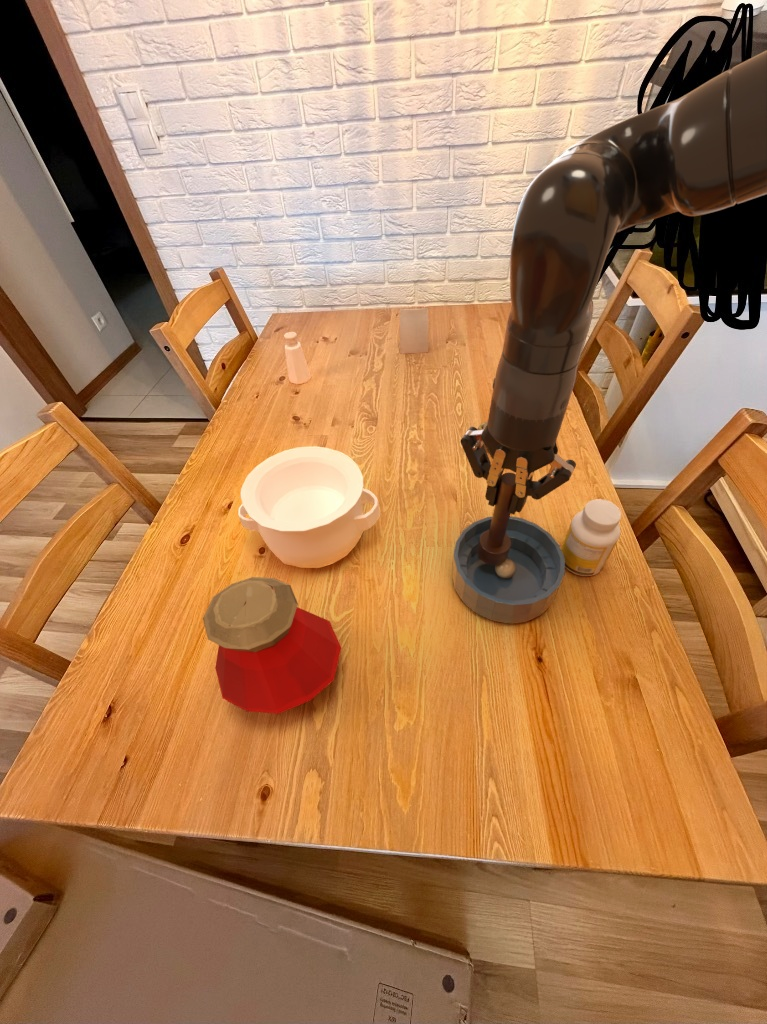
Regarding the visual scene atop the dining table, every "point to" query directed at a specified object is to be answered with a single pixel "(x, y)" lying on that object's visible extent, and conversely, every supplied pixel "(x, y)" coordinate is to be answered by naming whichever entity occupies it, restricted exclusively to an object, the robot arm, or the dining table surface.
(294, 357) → the salt shaker
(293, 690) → the red jar
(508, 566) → the bead
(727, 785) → the dining table surface
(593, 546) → the pill bottle
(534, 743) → the dining table surface
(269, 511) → the pot
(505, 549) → the masher
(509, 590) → the bowl
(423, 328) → the grey rectangular block
